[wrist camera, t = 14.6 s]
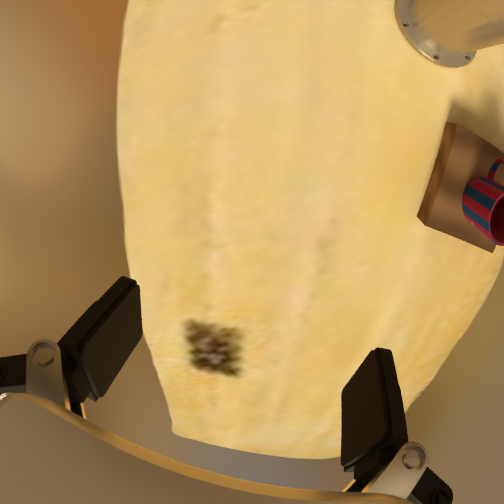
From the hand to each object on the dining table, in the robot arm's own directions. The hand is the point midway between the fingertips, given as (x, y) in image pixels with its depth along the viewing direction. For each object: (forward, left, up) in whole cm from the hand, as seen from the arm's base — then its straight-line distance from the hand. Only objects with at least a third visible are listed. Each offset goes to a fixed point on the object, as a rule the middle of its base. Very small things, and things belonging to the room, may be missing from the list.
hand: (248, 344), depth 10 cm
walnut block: (-7, +25, -29) cm, 39 cm away
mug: (-8, +25, -25) cm, 37 cm away
